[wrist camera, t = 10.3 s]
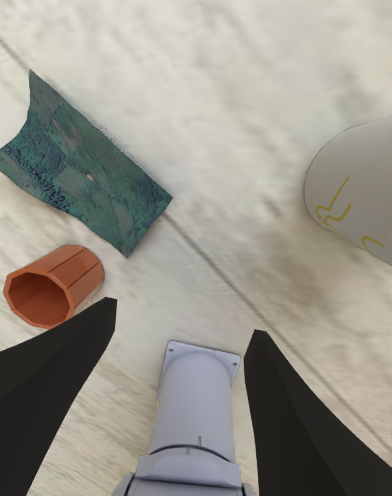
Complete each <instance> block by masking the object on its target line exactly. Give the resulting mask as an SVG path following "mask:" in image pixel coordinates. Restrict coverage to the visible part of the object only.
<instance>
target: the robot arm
mask: <svg viewBox="0 0 392 496" xmlns="http://www.w3.org/2000/svg"><path fill="white" fill-rule="evenodd" d="M116 309H117V299H113V298H109V297H105V298H103V299H101V300H100V301H98V302H96V303H95V304H93V305H92V306H90V307H88V308H87V309H85V310H83V311H82V312H80V313H78V314H77V315H75V316H73V317H72V318H70V319H68V320H67V321H65V322H63V323H61V324H59V325H57V326H55V327H54V328H52V329H50V330H48V331H46V332H44V333H42V334H40V335H38V336H36V337H34V338H31V339H29V340H27V341H25V342H23V343H20V344H18V345H16V346H13V347H10V348H8V349H5V350H3V351H0V496H26V495H27V492H28V490H29V488H30V486H31V484H32V482H33V480H34V478H35V476H36V474H37V472H38V470H39V467H40V465H41V463H42V461H43V459H44V457H45V455H46V453H47V451H48V449H49V447H50V445H51V443H52V441H53V439H54V437H55V435H56V433H57V431H58V429H59V427H60V425H61V424H62V422H63V420H64V418H65V416H66V414H67V412H68V410H69V408H70V406H71V404H72V403H73V401H74V399H75V398H76V396H77V394H78V392H79V391H80V389H81V388H82V386H83V385H84V383H85V381H86V380H87V378H88V377H89V375H90V374H91V372H92V370H93V369H94V367H95V366H96V364H97V363H98V361H99V359H100V358H101V356H102V355H103V353H104V351H105V350H106V348H107V346H108V344H109V342H110V340H111V338H112V335H113V333H114V331H115V322H116ZM234 362H236V363H234ZM240 362H241V359H240V356H239V355H236V354H231V353H226V352H222V351H217V350H213V349H208V348H203V347H199V346H194V345H189V344H185V343H180V342H176V341H169V342H168V345H167V350H166V355H165V360H164V365H163V370H162V375H161V380H160V385H159V390H158V395H157V400H158V401H159V402H158V407H157V411H156V415H155V420H154V424H153V428H152V432H151V437H150V441H149V445H148V450H147V454H146V455H141V456H140V457H139V461H138V465H137V469H136V473H134V472H130V473H127V474H126V475H125V476H124V478H123V479H122V481H121V482H120V483H119V484H118V485H117V486H116V488H115V489H114V491H113V493H112V495H111V496H257V494H256V493H255V492H254V490H253V488H252V486H251V485H250V484H248V483H241V472H240V465H239V464H236V457H235V444H234V430H233V417H232V403H231V390H230V388H231V385H232V383H233V380H234V378H235V375H236V372H237V370H238V367H239V364H240ZM244 376H245V384H246V390H247V396H248V402H249V408H250V414H251V419H252V425H253V431H254V438H255V447H256V458H257V470H258V484H259V496H392V467H390V466H389V465H388V464H387V463H386V462H385V461H383V460H382V459H381V458H380V457H379V456H378V455H376V454H375V453H374V452H373V451H372V450H371V449H370V448H369V447H367V446H366V445H365V444H364V443H363V442H362V441H361V440H360V439H359V438H358V437H357V436H356V435H354V434H353V433H352V432H351V431H350V430H349V429H348V428H347V427H346V426H345V425H344V424H343V423H342V422H341V421H340V420H339V419H338V418H337V417H336V416H335V415H334V414H333V413H332V412H331V411H330V410H329V409H328V408H327V407H326V406H325V405H324V403H323V402H322V401H321V400H320V399H319V398H318V397H317V396H316V395H315V394H314V392H313V391H312V390H311V389H310V388H309V387H308V385H307V384H306V383H305V382H304V381H303V379H302V378H301V377H300V376H299V375H298V373H297V372H296V371H295V369H294V368H293V367H292V366H291V364H290V363H289V362H288V360H287V359H286V358H285V356H284V355H283V354H282V352H281V351H280V349H279V348H278V347H277V345H276V344H275V343H274V341H273V340H272V338H271V337H270V336H269V334H268V333H267V332H266V331H261V330H256V329H255V330H254V333H253V335H252V338H251V340H250V343H249V346H248V348H247V351H246V354H245V356H244Z"/></svg>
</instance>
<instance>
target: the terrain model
mask: <svg viewBox="0 0 392 496" xmlns="http://www.w3.org/2000/svg"><path fill="white" fill-rule="evenodd" d="M29 87H30V106H29V110H28V115H27V120H26V122H25V124H24V126H23V127H22V128H21V130H20V132H19V133H18V134H17V136H16V137H14V138H13V139H12V140H11V141H10V142H9V143H8V144H6V145H5V146H3V147H2V148H1V149H0V171H1V172H2V173H3V174H5V175H6V176H7V177H8V178H9V179H10V180H12V181H13V182H14V183H15V184H16V185H17V186H18V187H20V188H21V189H23V190H24V191H26V192H27V193H29V194H30V195H32V196H34V197H36V198H37V199H39V200H41V201H43V202H45V203H47V204H49V205H51V206H53V207H55V208H57V209H59V210H61V211H64V212H66V213H68V214H70V215H72V216H74V217H76V218H78V219H79V220H80V221H82V222H83V223H84V224H85V225H86V226H87V227H89V228H90V229H91V230H92V231H93V232H95V233H96V234H97V235H99V236H100V237H101V238H103V239H105V240H106V241H108V242H109V243H111V244H112V245H113V246H114V247H115V248H117V249H118V250H119V251H120V252H121V253H122V254H123V255H124V256H125V257H126V258H127V257H128V256H129V255H130V253H131V252H132V250H133V249H134V247H135V246H136V244H137V243H138V241H139V240H140V238H141V237H142V236H143V234H144V233H145V231H146V230H147V229H148V228H149V227H150V226H151V224H152V223H153V222H154V221H155V220H156V219H157V218H158V217H159V216H160V215H161V214H162V212H163V211H164V210H165V209H166V207H167V206H168V205H169V203H170V202H171V200H172V198H173V197H172V196H171V195H170V194H169V193H167V192H166V191H165V190H164V189H163V188H161V187H160V186H159V185H158V184H157V183H156V182H154V181H153V180H152V179H151V178H150V177H149V176H148V175H147V174H146V173H145V172H144V171H143V170H142V169H141V168H139V167H138V166H137V165H136V164H135V163H134V162H133V161H132V160H130V159H129V158H128V157H127V156H126V155H124V154H123V153H122V152H121V151H120V150H119V149H118V148H117V147H116V146H115V145H114V144H113V143H112V142H111V141H110V140H109V139H108V138H107V137H106V136H105V135H104V134H103V133H102V132H100V131H99V130H98V129H97V128H95V127H94V126H93V125H92V124H91V123H90V122H89V121H88V120H87V119H86V118H85V117H84V116H83V115H81V114H80V113H79V112H78V111H76V110H75V109H74V108H73V107H72V106H71V105H70V104H69V103H68V102H67V101H66V100H65V99H64V98H63V97H62V96H61V95H60V94H59V93H58V92H56V91H55V90H54V89H53V88H52V87H50V86H49V85H48V84H47V83H46V82H44V81H43V80H42V79H41V78H40V77H39V76H37V75H36V74H35V73H34V72H33V71H32V70H31V69H30V74H29Z"/></svg>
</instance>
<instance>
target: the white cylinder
mask: <svg viewBox="0 0 392 496" xmlns="http://www.w3.org/2000/svg"><path fill="white" fill-rule="evenodd" d="M304 198H305V203H306V206H307V209H308V211H309V213H310V215H311V216H312V218H313V219H314V220H315V221H316V222H317V223H318V224H319V225H320V226H322V227H324V228H325V229H327V230H329V231H331V232H332V233H334V234H336V235H338V236H339V237H341V238H343V239H345V240H346V241H348V242H350V243H352V244H353V245H355V246H357V247H359V248H361V249H362V250H364V251H366V252H368V253H369V254H371V255H373V256H375V257H376V258H378V259H380V260H382V261H383V262H385V263H387V264H389V265H391V266H392V116H390V117H387V118H383V119H379V120H376V121H372V122H369V123H365V124H361V125H358V126H355V127H352V128H350V129H347V130H345V131H344V132H342V133H340V134H339V135H337V136H336V137H334V138H333V139H332V140H330V141H329V142H328V143H327V144H326V145H325V146H324V147H323V148H322V149H321V150H320V152H319V153H318V154H317V156H316V157H315V159H314V160H313V162H312V164H311V166H310V168H309V170H308V173H307V176H306V180H305V186H304Z"/></svg>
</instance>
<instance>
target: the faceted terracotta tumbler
mask: <svg viewBox="0 0 392 496" xmlns="http://www.w3.org/2000/svg"><path fill="white" fill-rule="evenodd" d="M103 280H104V270H103V266H102V264H101V262H100V261H99V259H98V258H97V257H96V256H95V255H94V254H93V253H92V252H91V251H89V250H87V249H86V248H83V247H80V246H75V245H64V246H62V247H60V248H58V249H56V250H54V251H51V252H50V253H48V254H46V255H44V256H42V257H40V258H38V259H36V260H34V261H33V262H31V263H29V264H27V265H25V266H23V267H21V268H19V269H17V270H16V271H14V272H12V273H10V274H8V276H7V278H6V282H5V285H4V289H3V292H4V293H3V294H4V296H5V298H6V300H7V302H8V304H9V306H10V309H11V311H13V313H14V314H16V315H17V316H18V317H20V318H21V319H22V320H24V321H25V322H26V323H28V324H29V325H31V326H35V327H39V328H44V329H49V330H50V329H52V328H54V327H55V326H57V325H59V324H61V323H63V322H65V321H67V320H68V319H70V318H72V317H73V316H75V315H77V314H78V313H79V312H80V311H81V310H82V309H83V307H84V306H85V305H86V304H87V303H88V302H89V301H90V300H91V299H92V298H93V297H94V295H95V294H96V293H97V292H98V291H99V289H100V286H101V284H102V282H103Z"/></svg>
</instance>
